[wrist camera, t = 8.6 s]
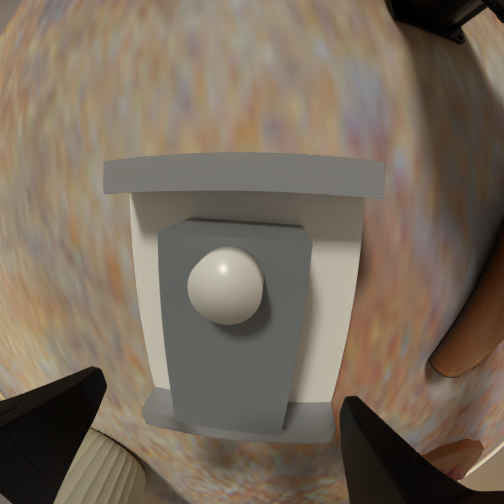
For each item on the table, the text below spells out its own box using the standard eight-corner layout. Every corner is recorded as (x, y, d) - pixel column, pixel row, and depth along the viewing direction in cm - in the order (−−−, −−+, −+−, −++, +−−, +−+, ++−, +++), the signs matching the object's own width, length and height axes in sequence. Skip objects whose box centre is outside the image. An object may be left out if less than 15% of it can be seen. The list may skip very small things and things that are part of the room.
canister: (81, 460, 29) (34, 539, 8) (35, 386, 24) (-47, 476, 4) (178, 494, 27) (144, 597, 7) (147, 429, 22) (73, 584, 2)
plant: (496, 421, 20) (525, 469, 9) (441, 486, 25) (455, 527, 14) (383, 458, 22) (401, 533, 11) (343, 512, 27) (347, 562, 16)
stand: (350, 168, 15) (385, 162, 10) (322, 388, 19) (330, 442, 14) (153, 165, 16) (103, 161, 11) (171, 376, 20) (146, 423, 15)
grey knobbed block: (281, 387, 16) (280, 452, 11) (194, 377, 16) (169, 436, 11) (302, 225, 13) (317, 252, 8) (190, 217, 13) (142, 238, 8)
